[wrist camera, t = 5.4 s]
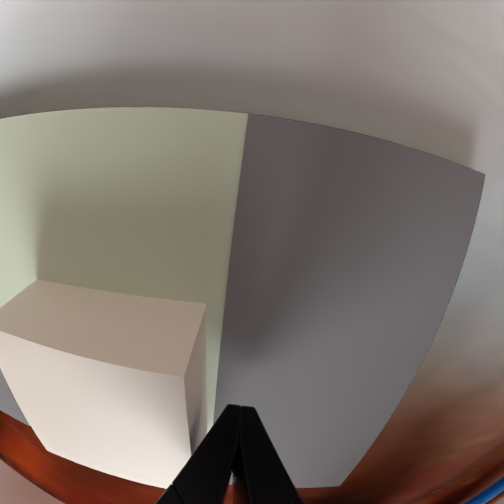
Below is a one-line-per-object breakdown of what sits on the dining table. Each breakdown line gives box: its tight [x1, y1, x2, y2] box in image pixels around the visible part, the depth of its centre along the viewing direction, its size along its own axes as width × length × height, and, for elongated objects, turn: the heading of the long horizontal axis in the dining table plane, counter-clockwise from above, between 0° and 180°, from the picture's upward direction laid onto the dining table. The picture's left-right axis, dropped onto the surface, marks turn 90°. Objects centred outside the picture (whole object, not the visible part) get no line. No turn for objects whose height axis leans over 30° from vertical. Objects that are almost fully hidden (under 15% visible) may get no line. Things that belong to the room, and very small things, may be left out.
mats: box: [0, 114, 485, 488], centre depth 9 cm, size 16×24×1 cm, turn 82°
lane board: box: [0, 107, 248, 433], centre depth 10 cm, size 16×24×1 cm, turn 82°
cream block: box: [0, 279, 207, 489], centre depth 8 cm, size 6×6×3 cm
